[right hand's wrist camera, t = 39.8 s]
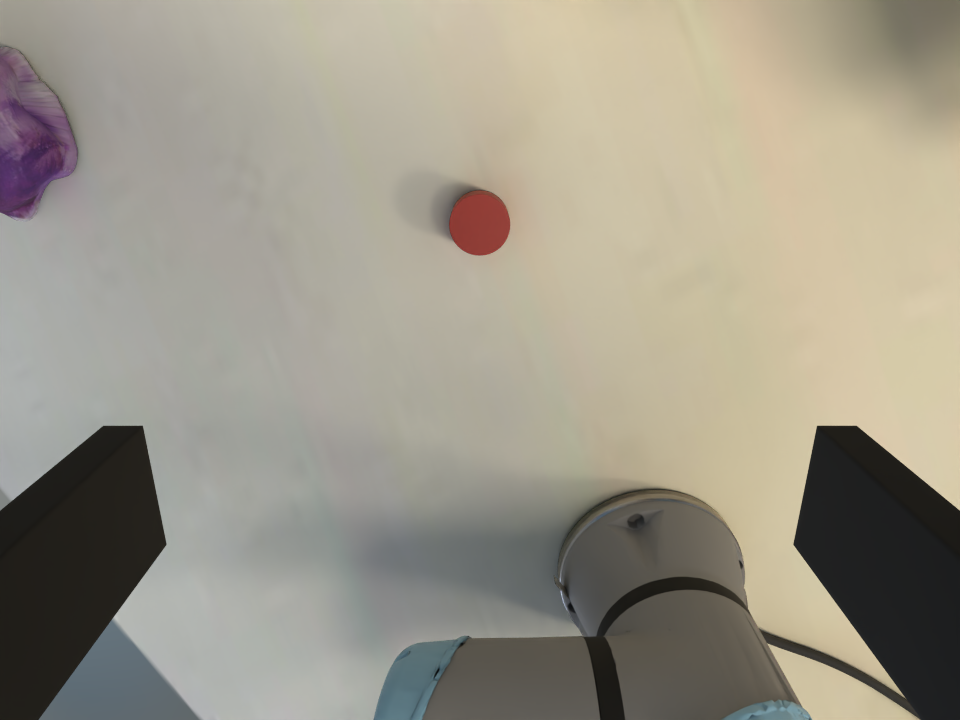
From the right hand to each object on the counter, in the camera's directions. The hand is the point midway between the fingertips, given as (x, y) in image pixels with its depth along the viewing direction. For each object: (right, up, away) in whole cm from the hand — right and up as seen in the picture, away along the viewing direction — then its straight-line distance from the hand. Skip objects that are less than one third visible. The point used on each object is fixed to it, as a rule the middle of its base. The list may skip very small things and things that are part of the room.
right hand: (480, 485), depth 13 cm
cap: (0, +12, +31) cm, 33 cm away
